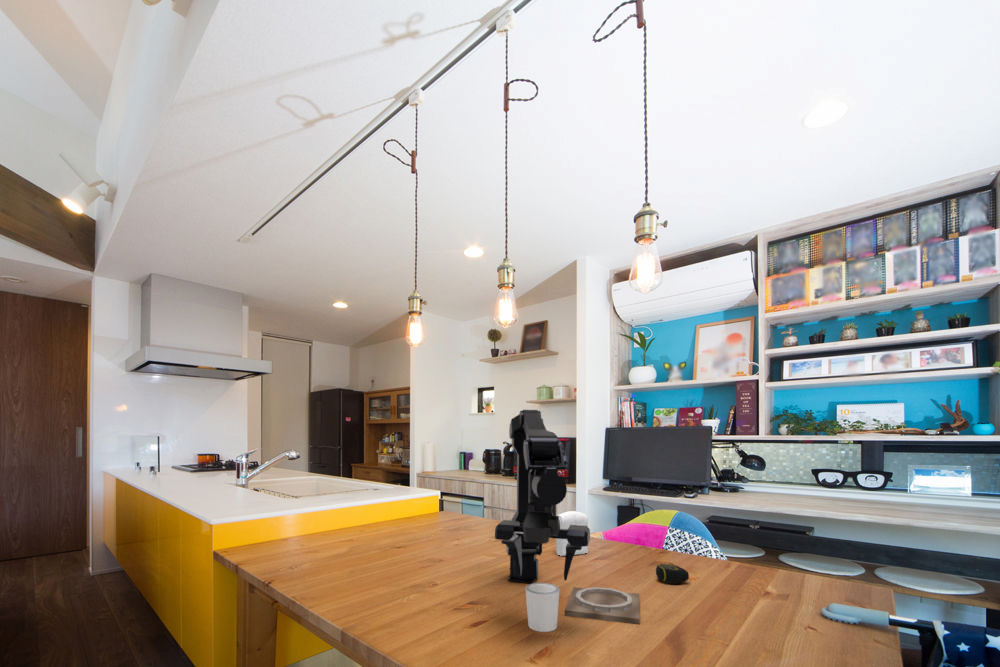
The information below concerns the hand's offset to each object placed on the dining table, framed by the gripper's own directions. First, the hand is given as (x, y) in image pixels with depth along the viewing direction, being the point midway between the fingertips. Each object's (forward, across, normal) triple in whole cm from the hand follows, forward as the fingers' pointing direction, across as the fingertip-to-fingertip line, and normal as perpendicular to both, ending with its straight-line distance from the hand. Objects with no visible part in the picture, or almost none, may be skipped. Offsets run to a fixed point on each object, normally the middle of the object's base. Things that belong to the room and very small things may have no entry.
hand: (542, 577), depth 99 cm
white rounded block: (+9, -1, +55) cm, 56 cm away
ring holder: (+9, +11, +14) cm, 20 cm away
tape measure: (+9, +27, +37) cm, 47 cm away
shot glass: (+9, 0, 0) cm, 9 cm away
